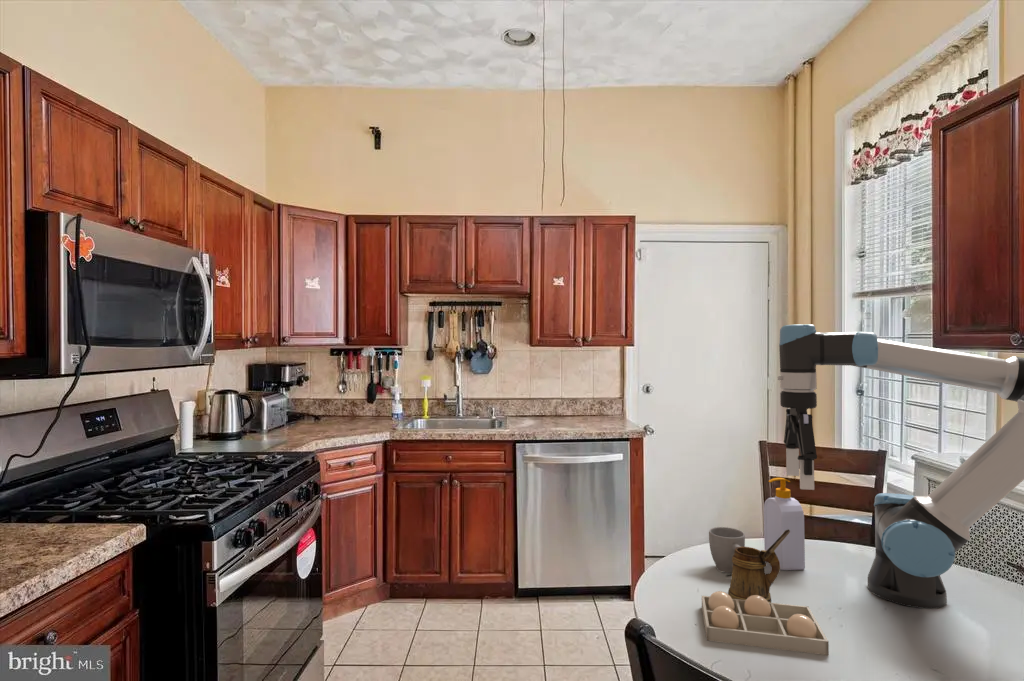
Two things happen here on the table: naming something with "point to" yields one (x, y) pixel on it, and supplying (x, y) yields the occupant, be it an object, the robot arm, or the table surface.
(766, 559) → the wooden mug
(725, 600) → the seated egg
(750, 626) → the carton
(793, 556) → the soap bottle
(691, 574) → the table surface
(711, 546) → the mug
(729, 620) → the seated egg
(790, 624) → the seated egg
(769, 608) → the egg
